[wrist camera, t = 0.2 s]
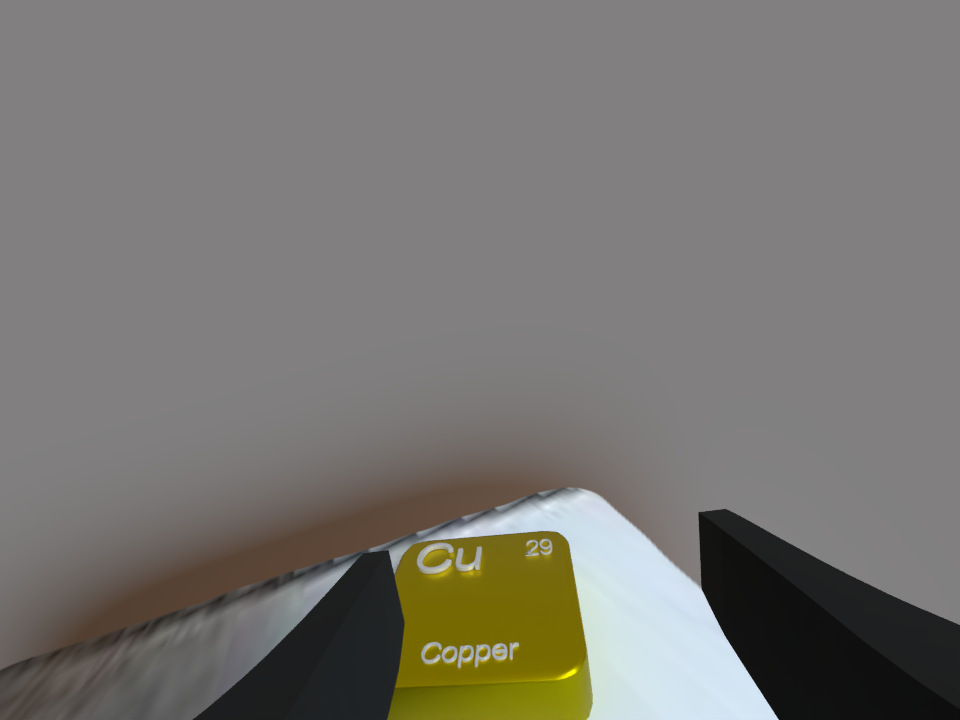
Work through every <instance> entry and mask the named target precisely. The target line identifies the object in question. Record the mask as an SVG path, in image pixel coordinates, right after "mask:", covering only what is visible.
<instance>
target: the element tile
mask: <svg viewBox="0 0 960 720" xmlns="http://www.w3.org/2000/svg"><path fill="white" fill-rule="evenodd" d="M394 577H395V581H396V586H397V590H398V594H399V599H400V603H401V608H402V612H403V617H404V621H405V626H404V635H403V643H402V652H401V659H400V666H399V672H398V676H397V681H396V685H395V689H394V694H393V698H392V702H391V706H390V710H389V715H388V719H387V720H587V718H588V717H589V715H590V712H591V708H592V704H593V694H592V686H591V678H590V670H589V662H588V654H587V647H586V641H585V635H584V629H583V623H582V618H581V612H580V606H579V600H578V594H577V588H576V582H575V577H574V571H573V565H572V559H571V553H570V547H569V543H568V541H567V540H566V539H565V538H564V536H563V535H561V534H559V533H558V532H551V531H539V532H528V533H516V534H504V535H493V536H481V537H469V538H458V539H446V540H434V541H426V542H421V543H417V544H414V545H412V546H411V547H410V548H409V549H408V550H407V551H406V552H405V553H404V554H403V556H402V558H401V560H400V563H399V565H398V568H397V570H396V573H395V575H394Z"/></svg>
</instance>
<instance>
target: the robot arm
mask: <svg viewBox="0 0 960 720" xmlns="http://www.w3.org/2000/svg"><path fill="white" fill-rule="evenodd" d="M699 537H700V560H701V585H702V591H703V593H704V595H705V597H706V599H707V601H708V603H709V605H710V607H711V609H712V611H713V613H714V615H715V617H716V619H717V621H718V623H719V625H720V627H721V629H722V631H723V633H724V635H725V636H726V638H727V640H728V641H729V643H730V645H731V646H732V648H733V649H734V651H735V652H736V654H737V656H738V657H739V659H740V660H741V662H742V663H743V665H744V667H745V668H746V670H747V671H748V673H749V674H750V676H751V677H752V679H753V681H754V682H755V684H756V685H757V687H758V688H759V690H760V691H761V693H762V694H763V696H764V698H765V699H766V701H767V702H768V704H769V705H770V707H771V708H772V710H773V711H774V713H775V715H776V716H777V718H778V719H779V720H960V625H958V624H956V623H953V622H951V621H949V620H947V619H944V618H942V617H939V616H937V615H935V614H932V613H930V612H928V611H925V610H923V609H920V608H918V607H916V606H914V605H911V604H909V603H907V602H904V601H902V600H900V599H898V598H896V597H894V596H891V595H889V594H887V593H885V592H883V591H881V590H879V589H877V588H875V587H873V586H871V585H869V584H867V583H864V582H862V581H860V580H858V579H856V578H854V577H852V576H850V575H848V574H846V573H844V572H842V571H840V570H838V569H836V568H834V567H832V566H830V565H829V564H827V563H825V562H823V561H821V560H819V559H817V558H815V557H813V556H812V555H810V554H808V553H806V552H804V551H802V550H800V549H799V548H797V547H795V546H793V545H791V544H789V543H788V542H786V541H784V540H782V539H780V538H779V537H777V536H775V535H773V534H771V533H770V532H768V531H766V530H764V529H763V528H760V527H759V526H757V525H755V524H753V523H752V522H750V521H748V520H746V519H744V518H742V517H741V516H739V515H737V514H735V513H733V512H731V511H729V510H727V509H722V510H714V511H705V512H699ZM404 626H405V621H404V617H403V612H402V608H401V603H400V599H399V594H398V590H397V586H396V581H395V577H394V572H393V568H392V564H391V559H390V555H389V550H387V551H379V552H371V553H363V554H362V555H361V556H360V557H359V558H358V559H357V560H356V562H355V563H354V564H353V565H352V566H351V567H350V568H349V569H348V570H347V571H346V573H345V574H344V575H343V576H342V577H341V578H340V579H339V580H338V582H337V583H336V584H335V585H334V586H333V587H332V588H331V589H330V590H329V592H328V593H327V594H326V595H325V596H324V597H323V598H322V599H321V600H320V601H319V602H318V603H317V605H316V606H315V607H314V608H313V609H312V610H311V611H310V612H309V613H308V614H307V615H306V617H305V618H304V619H303V620H302V621H301V622H300V623H299V624H298V625H297V626H296V627H295V628H294V629H293V630H292V631H291V632H290V633H289V634H288V635H287V636H286V637H285V638H284V639H283V640H282V641H281V642H280V643H279V644H278V645H277V646H276V647H275V648H274V649H273V650H272V651H271V652H270V653H269V654H268V655H267V656H266V657H265V658H264V659H263V660H262V661H261V662H259V663H258V664H257V665H256V666H255V667H254V668H253V669H252V670H251V671H250V672H249V673H248V674H246V675H245V676H244V677H243V678H242V679H241V680H240V681H239V682H237V683H236V684H235V685H234V686H233V687H232V688H230V689H229V690H228V691H227V692H226V693H225V694H224V695H222V696H221V697H220V698H219V699H218V700H217V701H215V702H214V703H213V704H212V705H211V706H209V707H208V708H207V709H206V710H205V711H203V712H202V713H201V714H199V715H198V716H197V717H196V718H194V719H193V720H387V719H388V715H389V710H390V706H391V702H392V698H393V694H394V689H395V685H396V681H397V676H398V672H399V666H400V659H401V652H402V643H403V635H404Z"/></svg>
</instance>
